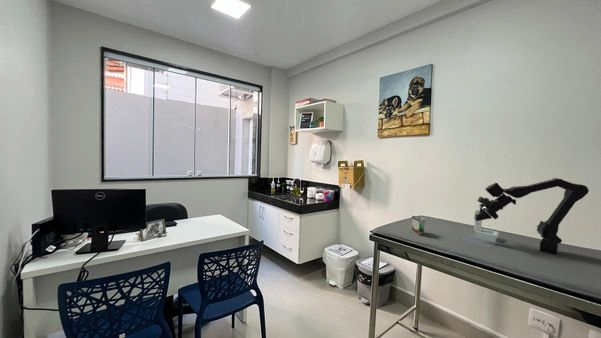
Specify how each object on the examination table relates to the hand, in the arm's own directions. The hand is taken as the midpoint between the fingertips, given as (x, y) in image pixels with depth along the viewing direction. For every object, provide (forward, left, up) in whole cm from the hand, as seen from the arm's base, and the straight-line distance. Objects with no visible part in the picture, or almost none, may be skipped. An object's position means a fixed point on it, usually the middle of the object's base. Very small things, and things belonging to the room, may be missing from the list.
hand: (475, 219), depth 148 cm
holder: (-2, -12, -13) cm, 17 cm away
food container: (+26, +14, -13) cm, 32 cm away
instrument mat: (-2, -6, -13) cm, 15 cm away
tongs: (-1, -1, -7) cm, 7 cm away
